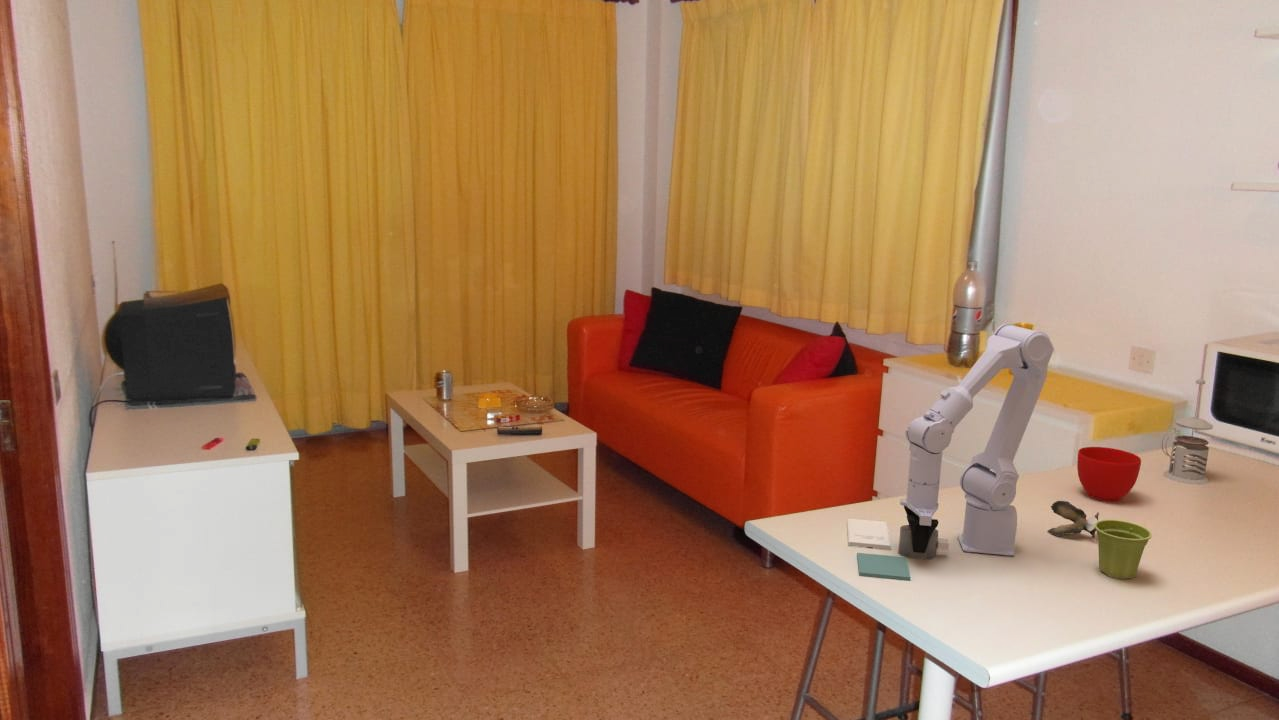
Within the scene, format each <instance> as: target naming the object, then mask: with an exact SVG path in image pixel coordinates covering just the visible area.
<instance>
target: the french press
mask: <svg viewBox="0 0 1279 720" xmlns="http://www.w3.org/2000/svg"><path fill="white" fill-rule="evenodd" d="M1195 384H1196V385H1199V386H1198V392H1197V393H1198V394H1197V400H1196V406H1195V412H1194V416H1192V417H1191V416H1186V417H1182V418H1179V419H1176V420H1174V421H1175V422H1174V423H1175V425H1177V426H1179V427H1181V428H1185V429H1192V432H1191V435H1180V432H1181V431H1180V430H1179V429H1176V427H1173V428H1170V429H1168V430H1167V431H1166V432H1165V433H1164V435H1163V436H1162V440H1161V443H1160V444H1161V450H1162V453H1164V454H1165V456H1167V457H1169V458H1170V460H1169V466H1168V469H1167V470H1166V471H1164V473H1163V476H1164V477H1165V478H1167V479H1170V480H1172V481H1175V482H1179V483H1185V484H1189V485H1206V484H1208V483H1209V481H1210V480H1209V479H1208V478H1207V477H1206V470H1207V462H1208V458H1209V452H1210V451H1209V450H1210V447H1209V446H1208V444H1209V443H1210V442H1209V441H1208V440H1207V439H1204V438H1201V437H1198V436H1194V430H1196V431H1197V430H1201V431H1209V430H1212V429H1213V428H1214V425H1213V424H1211V423H1210V422H1209V421H1207V420H1205V419H1203V418H1200V417H1198V416H1196V415H1197V411H1198V405H1199V398H1200V397H1199V396H1200V390H1201V385H1205V384H1206V381H1205V379H1203V378H1198V379H1196V381H1195ZM1172 430H1173V431H1172ZM1171 431H1172V432H1171ZM1169 432H1171V433H1170V434H1169V435H1168V436H1167V438H1166V441H1165V445H1164V439H1165V437H1166V435H1167V434H1168V433H1169ZM1176 432H1177V433H1176ZM1173 433H1174V434H1175V435H1176V436H1175V437H1174V440H1176V441H1174V442H1172V447H1171V452H1170V453H1171V454H1169V453H1168V448H1167V445H1168V444H1167V443H1168V440H1169V438H1170V437H1171V436H1172V435H1173ZM1164 448H1165V450H1164Z"/></svg>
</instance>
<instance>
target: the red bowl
mask: <svg viewBox="0 0 1279 720" xmlns="http://www.w3.org/2000/svg"><path fill="white" fill-rule="evenodd" d="M1076 464H1077V467H1076V468H1077V475H1078V479H1079V482H1080V485H1081V486H1082V487H1083V489H1084V490H1085V492H1086V493H1087V495H1088V497H1091V498H1093V499H1095V500H1098V501H1101V502H1102V501H1103V502H1118V501H1120V500H1121V499H1122V498H1123V497H1125V496H1127V494H1128V493H1130V491H1131V490H1133V488H1134V486H1135V485H1136V483H1137V479H1138V478H1139V474H1140V470H1141V465H1142V459H1141V457H1140V456H1138V455H1137V454H1134V453H1132V452H1130V451H1125V450H1122V449H1117V448H1112V447H1105V446H1086V447H1082V448H1080V449H1079V450H1078V452H1077V463H1076Z"/></svg>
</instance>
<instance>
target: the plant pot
mask: <svg viewBox="0 0 1279 720" xmlns="http://www.w3.org/2000/svg"><path fill="white" fill-rule="evenodd" d="M1095 529H1096V530H1097V531H1096V536H1097V542H1098V543H1097V544H1098V548H1097V549H1098V569H1099V571H1100V572H1103V573H1104V574H1105V575H1106V576H1108V577H1110V576H1111V578H1115V579H1118V578H1119V580H1126V579H1128V578H1130V579H1133V578H1135V577H1136V575H1137V572H1138V569H1139V565H1140V564H1141V563H1140V562H1141V560H1142V556H1143V553H1144V550H1145V547H1146V545H1147V544H1148V542H1149V540H1150V539H1151V538H1152V537H1153V535H1152V534H1153V533H1152V532H1151V530H1149V529H1148V528H1146V527H1144V526H1142V525H1140V524H1137V523H1134V522H1130V521H1125V520H1119V519H1101V520H1098V522H1096V523H1095Z"/></svg>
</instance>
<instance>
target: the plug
mask: <svg viewBox="0 0 1279 720" xmlns="http://www.w3.org/2000/svg"><path fill="white" fill-rule="evenodd" d="M899 529H900V530H899V540H898V549H897V550H898V552H897V553H898V554H899V555H900V556H901V557H906V558H910V557H912V558H913V559H920V558H923V559H924V560H933V559H935V558H937V550H940V551H949V546H950V542H949V539H948V538H940V537H939V530H938V529H936V528H935V530H934V531H933V533H932V535H931V537H930V540H929V543H928V546H927V549H926V551H925V553H917V552H914V551H913V546H912V534H911V528H910V525H909V524H906V525H905V524H904V525H902V526H900V528H899Z"/></svg>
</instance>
